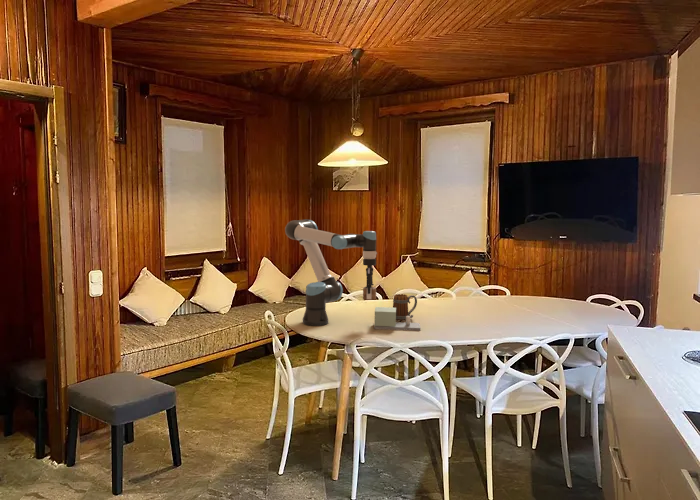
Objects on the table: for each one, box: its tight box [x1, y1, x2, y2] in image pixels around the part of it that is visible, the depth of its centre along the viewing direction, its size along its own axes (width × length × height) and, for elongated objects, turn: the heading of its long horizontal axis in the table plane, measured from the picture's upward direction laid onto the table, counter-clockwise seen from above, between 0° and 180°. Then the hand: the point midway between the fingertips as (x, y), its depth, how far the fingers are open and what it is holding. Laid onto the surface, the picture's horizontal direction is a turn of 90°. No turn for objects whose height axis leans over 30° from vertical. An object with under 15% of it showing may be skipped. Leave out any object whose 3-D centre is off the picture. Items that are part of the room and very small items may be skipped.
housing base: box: [373, 315, 421, 332], centre depth 316 cm, size 26×12×6 cm, turn 85°
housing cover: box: [373, 306, 397, 327], centre depth 317 cm, size 12×12×8 cm
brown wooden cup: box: [362, 286, 377, 301], centre depth 316 cm, size 7×7×6 cm
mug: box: [392, 293, 418, 322], centre depth 336 cm, size 16×11×15 cm
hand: (369, 297), depth 316 cm, fingers closed on brown wooden cup, 7 cm apart
